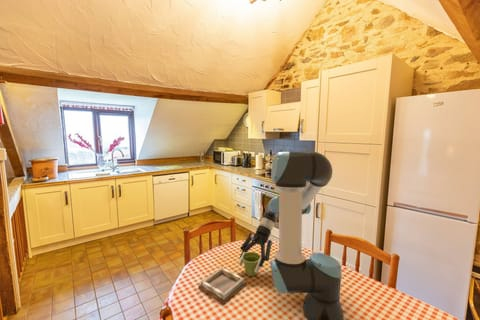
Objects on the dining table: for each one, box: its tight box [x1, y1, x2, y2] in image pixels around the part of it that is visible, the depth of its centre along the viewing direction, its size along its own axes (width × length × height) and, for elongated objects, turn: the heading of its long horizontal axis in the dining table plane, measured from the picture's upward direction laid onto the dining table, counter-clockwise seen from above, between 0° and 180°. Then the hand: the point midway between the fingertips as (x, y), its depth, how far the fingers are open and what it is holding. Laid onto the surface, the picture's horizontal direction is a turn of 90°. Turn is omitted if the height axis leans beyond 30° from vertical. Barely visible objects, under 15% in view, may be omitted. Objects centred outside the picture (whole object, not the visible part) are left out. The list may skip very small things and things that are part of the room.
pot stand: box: [198, 266, 248, 304], centre depth 105 cm, size 16×16×3 cm
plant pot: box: [242, 251, 261, 277], centre depth 115 cm, size 9×9×9 cm
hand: (247, 268), depth 113 cm, fingers closed on plant pot, 9 cm apart
